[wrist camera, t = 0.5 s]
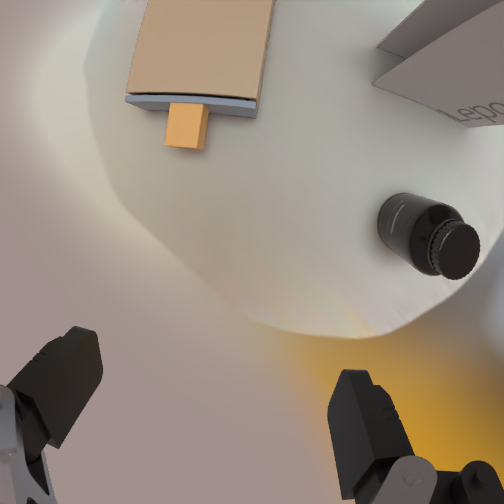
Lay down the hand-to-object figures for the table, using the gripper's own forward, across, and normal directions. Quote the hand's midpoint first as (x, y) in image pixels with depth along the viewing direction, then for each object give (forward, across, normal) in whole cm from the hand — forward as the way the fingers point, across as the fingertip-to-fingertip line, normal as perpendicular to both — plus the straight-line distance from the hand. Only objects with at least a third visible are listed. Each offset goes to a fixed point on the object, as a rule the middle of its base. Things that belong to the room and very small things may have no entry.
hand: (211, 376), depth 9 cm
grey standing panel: (+25, -18, -19) cm, 37 cm away
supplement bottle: (+25, -17, -2) cm, 30 cm away
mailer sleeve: (+25, +6, -20) cm, 32 cm away
